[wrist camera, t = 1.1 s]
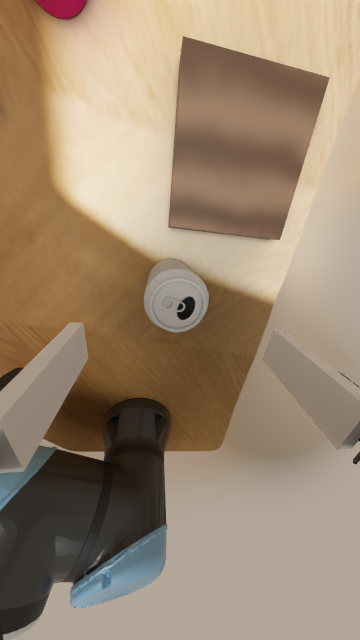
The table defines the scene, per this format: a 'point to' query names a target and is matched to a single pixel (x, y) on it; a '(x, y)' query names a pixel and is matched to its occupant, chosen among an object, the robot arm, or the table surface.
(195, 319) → the can
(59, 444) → the table surface
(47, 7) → the pepper mill
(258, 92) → the walnut plinth
